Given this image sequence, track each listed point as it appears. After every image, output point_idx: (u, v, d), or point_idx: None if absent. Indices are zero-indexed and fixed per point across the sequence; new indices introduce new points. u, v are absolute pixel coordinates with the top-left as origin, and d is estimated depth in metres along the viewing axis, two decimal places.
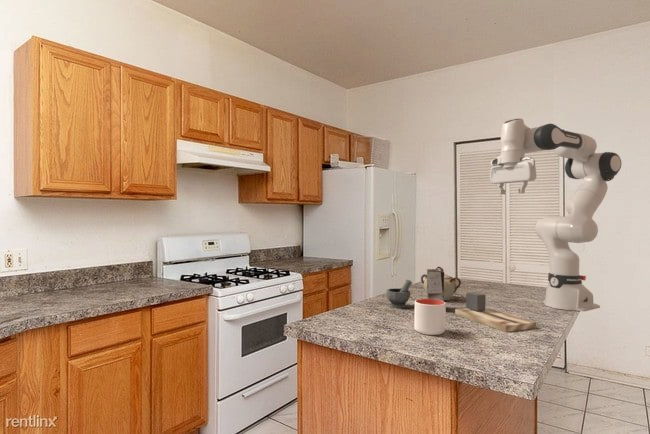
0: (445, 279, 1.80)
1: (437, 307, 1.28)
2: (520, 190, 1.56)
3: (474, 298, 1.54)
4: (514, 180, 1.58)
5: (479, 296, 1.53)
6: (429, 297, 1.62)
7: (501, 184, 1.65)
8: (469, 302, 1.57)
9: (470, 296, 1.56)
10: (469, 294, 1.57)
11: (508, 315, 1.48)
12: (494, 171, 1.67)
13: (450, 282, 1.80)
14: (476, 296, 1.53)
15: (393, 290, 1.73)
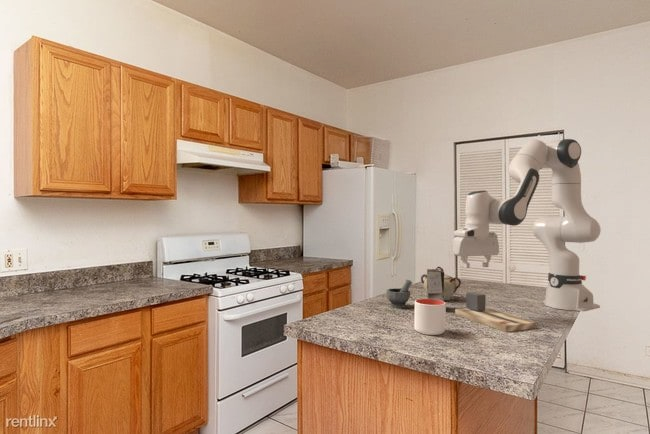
0: (445, 279, 1.80)
1: (437, 307, 1.28)
2: (487, 264, 1.57)
3: (474, 298, 1.54)
4: (485, 254, 1.56)
5: (479, 296, 1.53)
6: (429, 297, 1.62)
7: None
8: (469, 302, 1.57)
9: (470, 296, 1.56)
10: (469, 294, 1.57)
11: (508, 315, 1.48)
12: (464, 243, 1.52)
13: (450, 282, 1.80)
14: (476, 296, 1.53)
15: (393, 290, 1.73)
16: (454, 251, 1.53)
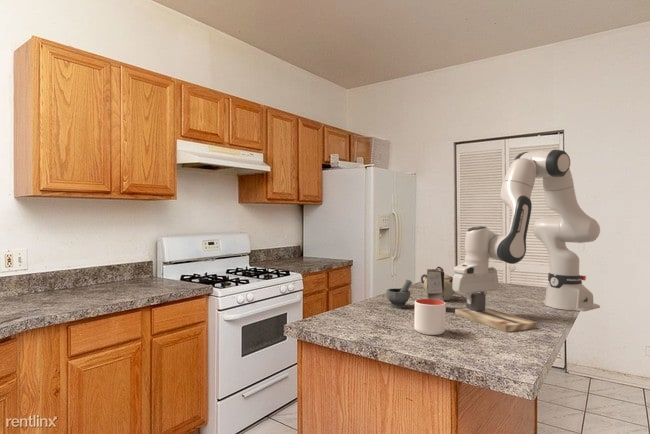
0: (445, 279, 1.80)
1: (437, 307, 1.28)
2: None
3: (474, 298, 1.54)
4: (484, 290, 1.56)
5: (479, 296, 1.53)
6: (429, 297, 1.62)
7: None
8: None
9: None
10: None
11: (508, 315, 1.48)
12: (464, 280, 1.52)
13: (450, 282, 1.80)
14: (476, 296, 1.53)
15: (393, 290, 1.73)
16: (454, 288, 1.53)
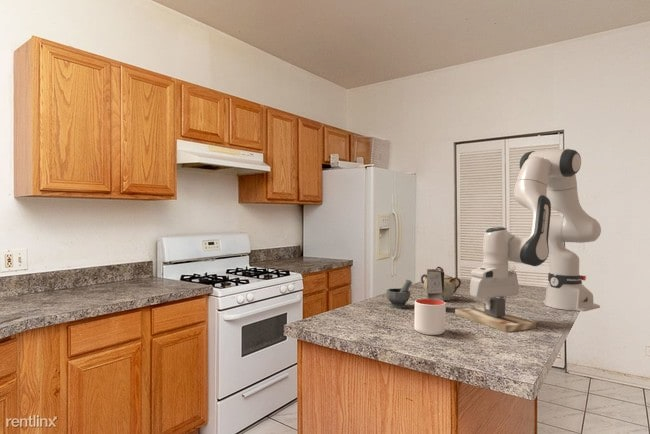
0: (445, 279, 1.80)
1: (437, 307, 1.28)
2: None
3: (493, 303, 1.45)
4: (504, 295, 1.47)
5: (499, 301, 1.44)
6: (429, 297, 1.62)
7: None
8: None
9: (489, 301, 1.47)
10: None
11: (508, 315, 1.48)
12: (482, 285, 1.43)
13: (450, 282, 1.80)
14: (495, 301, 1.44)
15: (393, 290, 1.73)
16: (471, 293, 1.44)
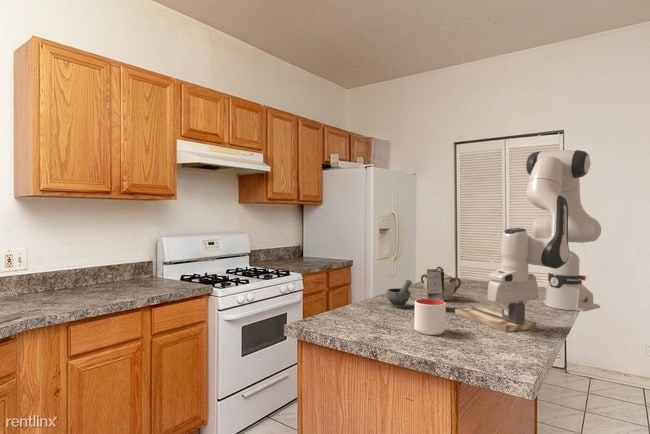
0: (445, 279, 1.80)
1: (437, 307, 1.28)
2: None
3: (512, 309, 1.37)
4: (523, 300, 1.39)
5: (518, 306, 1.36)
6: (429, 297, 1.62)
7: None
8: None
9: (508, 306, 1.39)
10: None
11: None
12: (501, 289, 1.35)
13: (450, 282, 1.80)
14: (515, 306, 1.36)
15: (393, 290, 1.73)
16: (489, 297, 1.36)
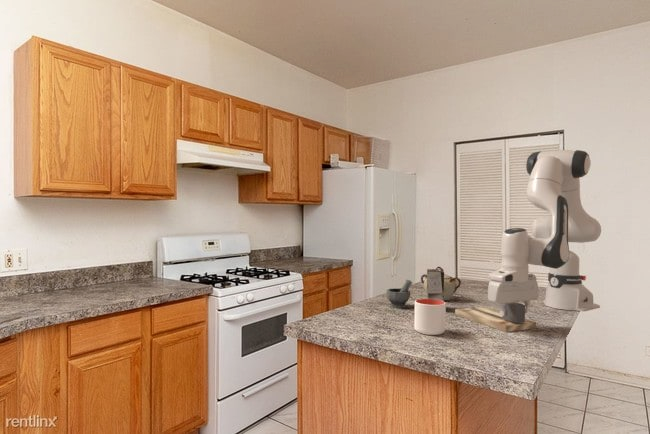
0: (445, 279, 1.80)
1: (437, 307, 1.28)
2: (526, 310, 1.40)
3: (512, 309, 1.37)
4: (523, 300, 1.39)
5: (518, 306, 1.36)
6: (429, 297, 1.62)
7: None
8: None
9: (508, 306, 1.39)
10: (506, 304, 1.40)
11: None
12: (501, 289, 1.35)
13: (450, 282, 1.80)
14: (515, 306, 1.36)
15: (393, 290, 1.73)
16: (490, 297, 1.36)
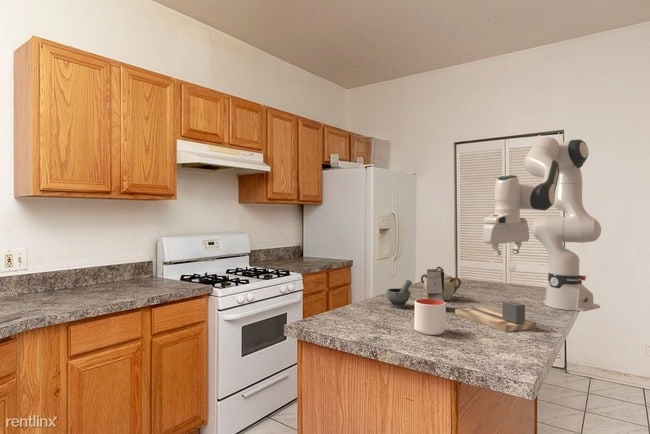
0: (445, 279, 1.80)
1: (437, 307, 1.28)
2: (518, 251, 1.53)
3: (512, 309, 1.37)
4: (515, 241, 1.51)
5: (518, 306, 1.36)
6: (429, 297, 1.62)
7: None
8: (506, 313, 1.40)
9: (508, 306, 1.39)
10: (506, 304, 1.40)
11: None
12: (495, 230, 1.47)
13: (450, 282, 1.80)
14: (515, 306, 1.36)
15: (393, 290, 1.73)
16: (485, 239, 1.49)
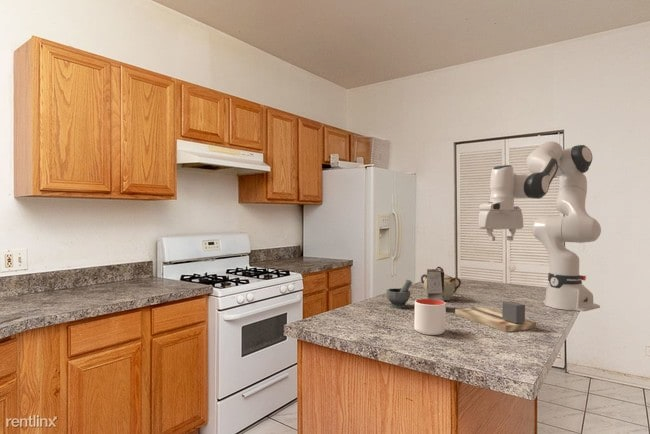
0: (445, 279, 1.80)
1: (437, 307, 1.28)
2: (512, 237, 1.60)
3: (512, 309, 1.37)
4: (510, 227, 1.58)
5: (518, 306, 1.36)
6: (429, 297, 1.62)
7: None
8: (506, 313, 1.40)
9: (508, 306, 1.39)
10: (506, 304, 1.40)
11: None
12: (490, 216, 1.54)
13: (450, 282, 1.80)
14: (515, 306, 1.36)
15: (393, 290, 1.73)
16: (480, 224, 1.56)
